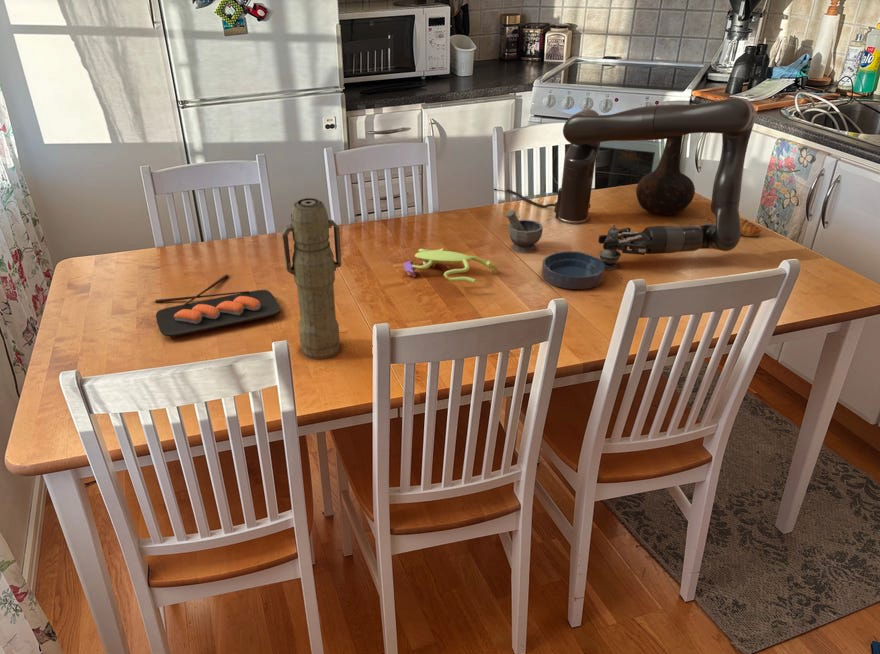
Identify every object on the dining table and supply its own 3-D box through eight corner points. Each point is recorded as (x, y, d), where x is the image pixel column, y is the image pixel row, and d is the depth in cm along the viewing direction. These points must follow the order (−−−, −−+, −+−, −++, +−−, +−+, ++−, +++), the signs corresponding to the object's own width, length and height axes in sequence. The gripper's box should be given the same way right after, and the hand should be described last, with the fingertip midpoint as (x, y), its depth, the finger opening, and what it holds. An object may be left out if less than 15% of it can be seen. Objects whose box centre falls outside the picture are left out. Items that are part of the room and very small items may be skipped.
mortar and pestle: (532, 240, 218) (536, 201, 211) (546, 252, 210) (550, 212, 204) (497, 244, 215) (500, 205, 209) (509, 257, 208) (512, 217, 201)
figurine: (464, 300, 185) (465, 280, 182) (388, 271, 201) (387, 252, 198) (506, 276, 197) (508, 257, 194) (431, 250, 212) (431, 232, 209)
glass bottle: (649, 223, 228) (665, 132, 213) (623, 203, 242) (636, 117, 228) (701, 218, 231) (720, 128, 216) (672, 199, 245) (688, 114, 230)
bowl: (530, 279, 195) (531, 265, 193) (560, 259, 206) (562, 246, 203) (584, 297, 186) (586, 282, 184) (613, 275, 197) (615, 262, 194)
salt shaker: (594, 261, 204) (600, 221, 198) (615, 260, 205) (621, 220, 198) (601, 270, 199) (607, 229, 193) (622, 269, 200) (628, 228, 193)
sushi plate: (163, 344, 169) (160, 330, 167) (146, 291, 192) (144, 278, 190) (284, 318, 179) (283, 305, 177) (254, 271, 202) (253, 258, 200)
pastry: (763, 233, 219) (766, 221, 217) (753, 240, 215) (756, 228, 213) (732, 225, 225) (735, 213, 223) (722, 231, 221) (725, 219, 219)
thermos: (290, 345, 168) (273, 199, 149) (338, 334, 172) (328, 191, 153) (301, 364, 161) (285, 213, 142) (351, 352, 165) (342, 204, 146)
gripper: (655, 217, 203) (595, 219, 202) (675, 237, 191) (611, 239, 190) (651, 242, 207) (591, 245, 206) (670, 263, 195) (607, 266, 194)
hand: (601, 242), depth 198 cm, fingers closed on salt shaker, 3 cm apart
